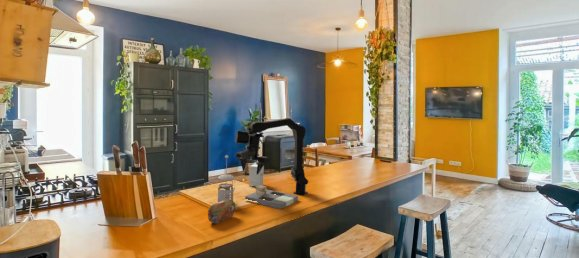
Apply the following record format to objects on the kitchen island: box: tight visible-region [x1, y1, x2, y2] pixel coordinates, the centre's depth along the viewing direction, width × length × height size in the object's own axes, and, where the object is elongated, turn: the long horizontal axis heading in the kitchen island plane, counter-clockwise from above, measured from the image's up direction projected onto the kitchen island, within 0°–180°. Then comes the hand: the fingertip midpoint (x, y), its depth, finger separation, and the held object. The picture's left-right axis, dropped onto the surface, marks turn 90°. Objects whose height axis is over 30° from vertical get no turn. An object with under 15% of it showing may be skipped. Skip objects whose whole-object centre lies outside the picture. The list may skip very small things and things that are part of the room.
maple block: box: [255, 185, 267, 195], centre depth 178 cm, size 4×4×4 cm
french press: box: [217, 154, 236, 202], centre depth 166 cm, size 10×12×25 cm
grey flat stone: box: [207, 200, 236, 225], centre depth 144 cm, size 15×3×8 cm, turn 148°
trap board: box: [244, 188, 299, 210], centre depth 175 cm, size 18×22×2 cm
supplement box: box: [248, 163, 265, 188], centre depth 204 cm, size 7×7×13 cm
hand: (250, 172), depth 180 cm, fingers open, 9 cm apart
